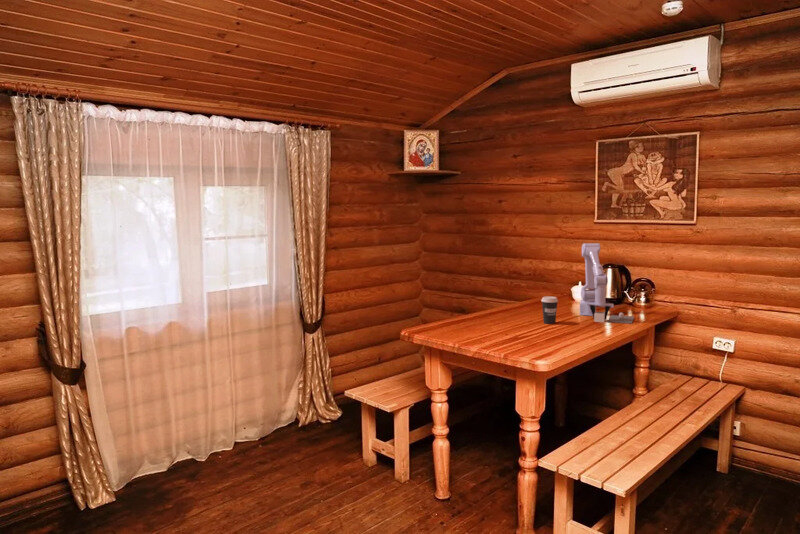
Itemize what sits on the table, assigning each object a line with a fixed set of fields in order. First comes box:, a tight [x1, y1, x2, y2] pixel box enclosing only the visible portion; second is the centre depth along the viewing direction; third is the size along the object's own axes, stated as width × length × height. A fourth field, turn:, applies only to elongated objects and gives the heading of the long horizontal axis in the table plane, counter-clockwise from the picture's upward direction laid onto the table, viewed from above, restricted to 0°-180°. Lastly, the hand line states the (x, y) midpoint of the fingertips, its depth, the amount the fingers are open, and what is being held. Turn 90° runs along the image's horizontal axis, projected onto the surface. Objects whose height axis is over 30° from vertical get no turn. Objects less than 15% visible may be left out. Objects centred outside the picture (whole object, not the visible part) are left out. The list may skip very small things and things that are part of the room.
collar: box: [593, 311, 606, 323], centre depth 334 cm, size 6×6×5 cm
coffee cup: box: [540, 295, 559, 325], centre depth 331 cm, size 10×10×15 cm
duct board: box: [607, 312, 635, 325], centre depth 336 cm, size 13×18×4 cm
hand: (599, 318), depth 334 cm, fingers closed on collar, 6 cm apart
